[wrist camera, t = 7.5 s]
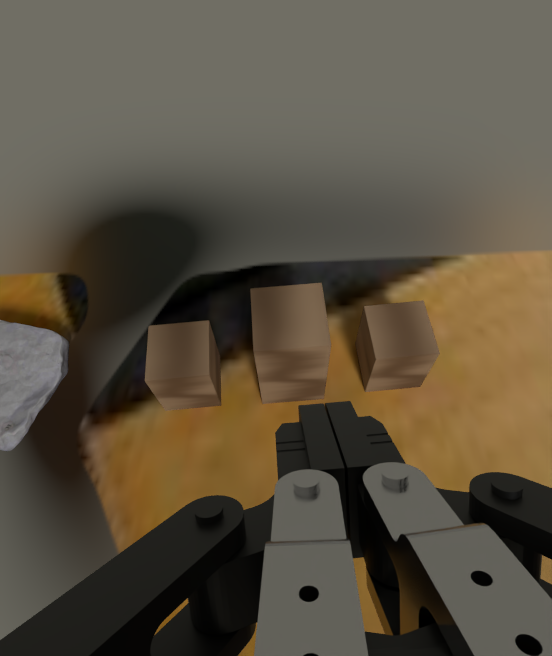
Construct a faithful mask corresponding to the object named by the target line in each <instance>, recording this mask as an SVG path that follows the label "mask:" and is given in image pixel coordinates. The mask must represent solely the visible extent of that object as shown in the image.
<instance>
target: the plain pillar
mask: <svg viewBox="0 0 552 656" xmlns="http://www.w3.org/2000/svg"><path fill="white" fill-rule="evenodd" d="M250 291H251V311H252V331H253V351H254V357H255V363H256V369H257V374H258V380H259V386H260V392H261V398H262V403H263V404H266V403H279V402H291V401H303V400H316V399H324V393H325V386H326V379H327V372H328V364H329V357H330V350H331V341H330V335H329V328H328V322H327V315H326V308H325V302H324V295H323V289H322V283H314V284H301V285H289V286H276V287H263V288H251V289H250Z"/></svg>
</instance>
